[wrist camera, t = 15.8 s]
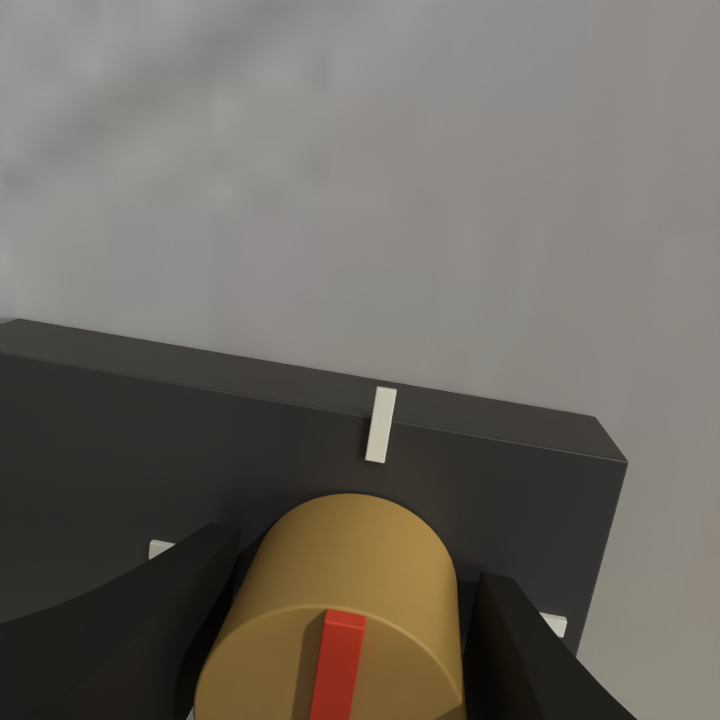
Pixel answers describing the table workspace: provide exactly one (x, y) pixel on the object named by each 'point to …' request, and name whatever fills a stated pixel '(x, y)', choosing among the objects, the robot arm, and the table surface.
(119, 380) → the panel
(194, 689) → the robot arm
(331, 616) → the hob knob
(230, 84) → the table surface
